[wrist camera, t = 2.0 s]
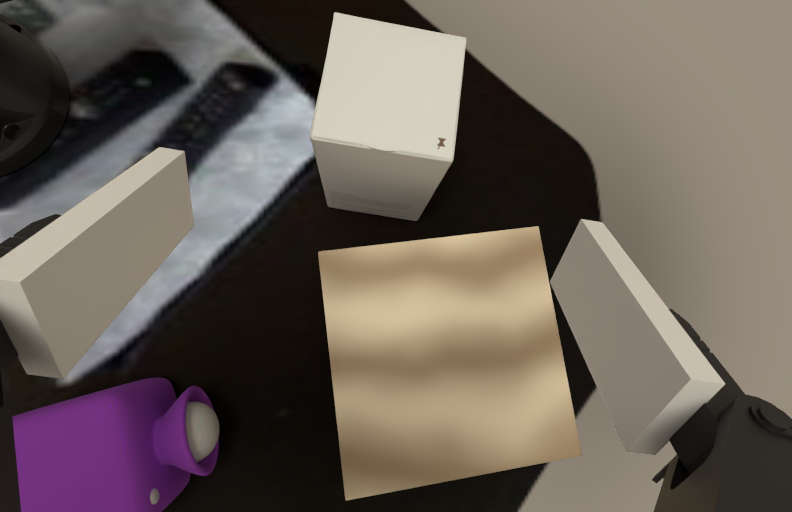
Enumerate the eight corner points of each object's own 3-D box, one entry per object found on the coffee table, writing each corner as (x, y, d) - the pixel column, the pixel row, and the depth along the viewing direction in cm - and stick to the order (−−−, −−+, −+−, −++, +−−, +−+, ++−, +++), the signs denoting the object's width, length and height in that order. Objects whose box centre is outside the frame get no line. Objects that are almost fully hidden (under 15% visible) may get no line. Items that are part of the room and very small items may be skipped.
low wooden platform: (326, 269, 38) (317, 251, 28) (492, 249, 40) (538, 226, 30) (347, 451, 36) (345, 500, 26) (522, 420, 38) (581, 455, 28)
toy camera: (254, 452, 35) (216, 504, 25) (93, 540, 33) (-19, 635, 23) (202, 337, 36) (146, 344, 26) (42, 415, 34) (-85, 454, 24)
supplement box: (430, 136, 41) (473, 34, 26) (418, 223, 40) (457, 164, 25) (339, 120, 40) (332, 5, 26) (324, 207, 39) (307, 138, 24)
